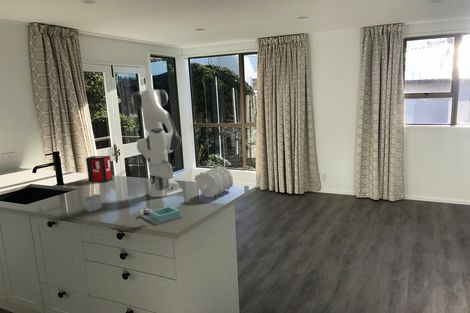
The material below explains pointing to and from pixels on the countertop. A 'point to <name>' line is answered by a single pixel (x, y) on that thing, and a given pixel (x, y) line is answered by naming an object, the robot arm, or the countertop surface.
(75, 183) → the countertop surface
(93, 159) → the cleaning product box
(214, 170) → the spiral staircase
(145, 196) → the countertop surface
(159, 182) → the block
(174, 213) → the end holder
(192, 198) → the countertop surface
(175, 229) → the countertop surface
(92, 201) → the medicine box
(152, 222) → the board
